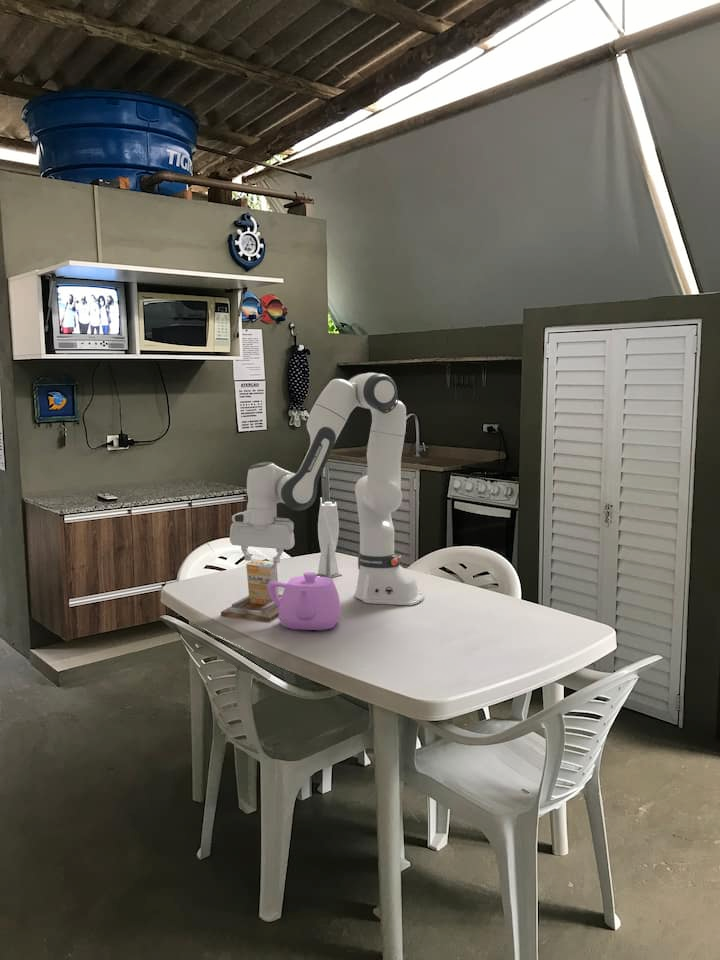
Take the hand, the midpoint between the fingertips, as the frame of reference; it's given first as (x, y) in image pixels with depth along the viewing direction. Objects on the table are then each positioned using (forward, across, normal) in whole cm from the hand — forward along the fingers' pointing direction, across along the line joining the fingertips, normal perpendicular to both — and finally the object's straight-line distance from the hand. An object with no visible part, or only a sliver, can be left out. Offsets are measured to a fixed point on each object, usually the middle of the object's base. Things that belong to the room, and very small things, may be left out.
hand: (262, 561), depth 233 cm
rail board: (+15, 0, 0) cm, 15 cm away
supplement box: (+13, 0, -2) cm, 13 cm away
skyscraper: (+15, -3, -46) cm, 48 cm away
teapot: (+15, -20, +10) cm, 27 cm away
